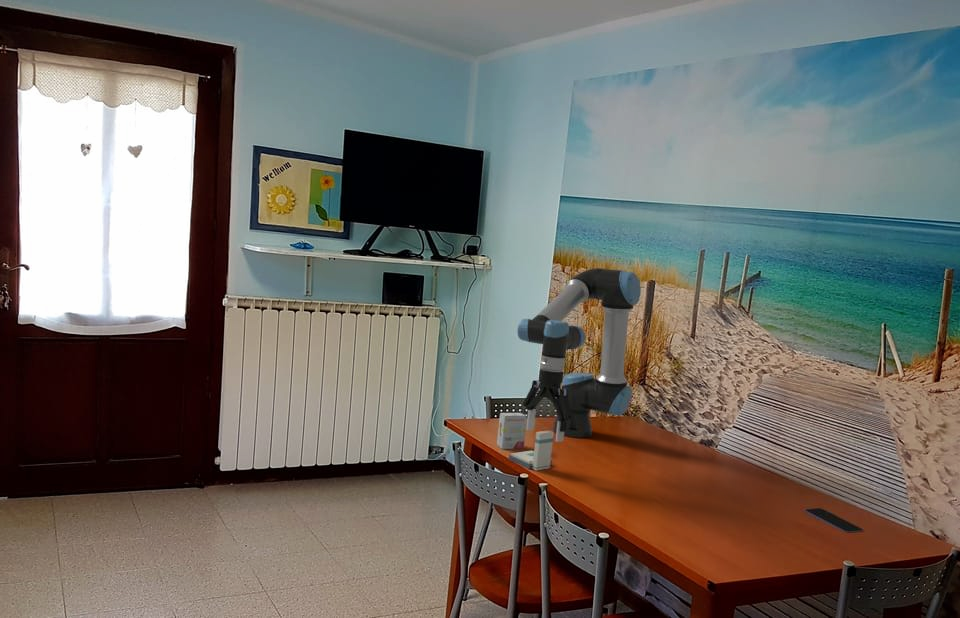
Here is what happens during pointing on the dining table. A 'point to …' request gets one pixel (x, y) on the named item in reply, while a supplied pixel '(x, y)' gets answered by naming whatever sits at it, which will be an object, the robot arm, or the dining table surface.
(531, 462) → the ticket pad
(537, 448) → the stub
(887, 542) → the dining table surface
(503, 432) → the ink box
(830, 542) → the dining table surface
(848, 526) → the smartphone
